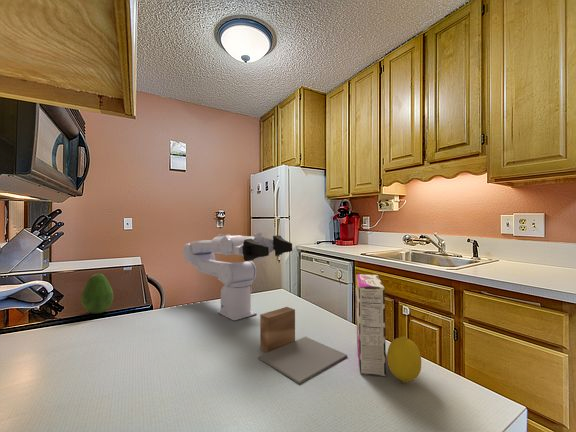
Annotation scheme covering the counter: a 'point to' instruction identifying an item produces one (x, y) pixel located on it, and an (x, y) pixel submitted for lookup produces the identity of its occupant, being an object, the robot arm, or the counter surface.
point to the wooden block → (277, 328)
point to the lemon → (404, 359)
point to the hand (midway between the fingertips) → (279, 249)
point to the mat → (302, 359)
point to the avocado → (97, 294)
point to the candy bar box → (370, 324)
